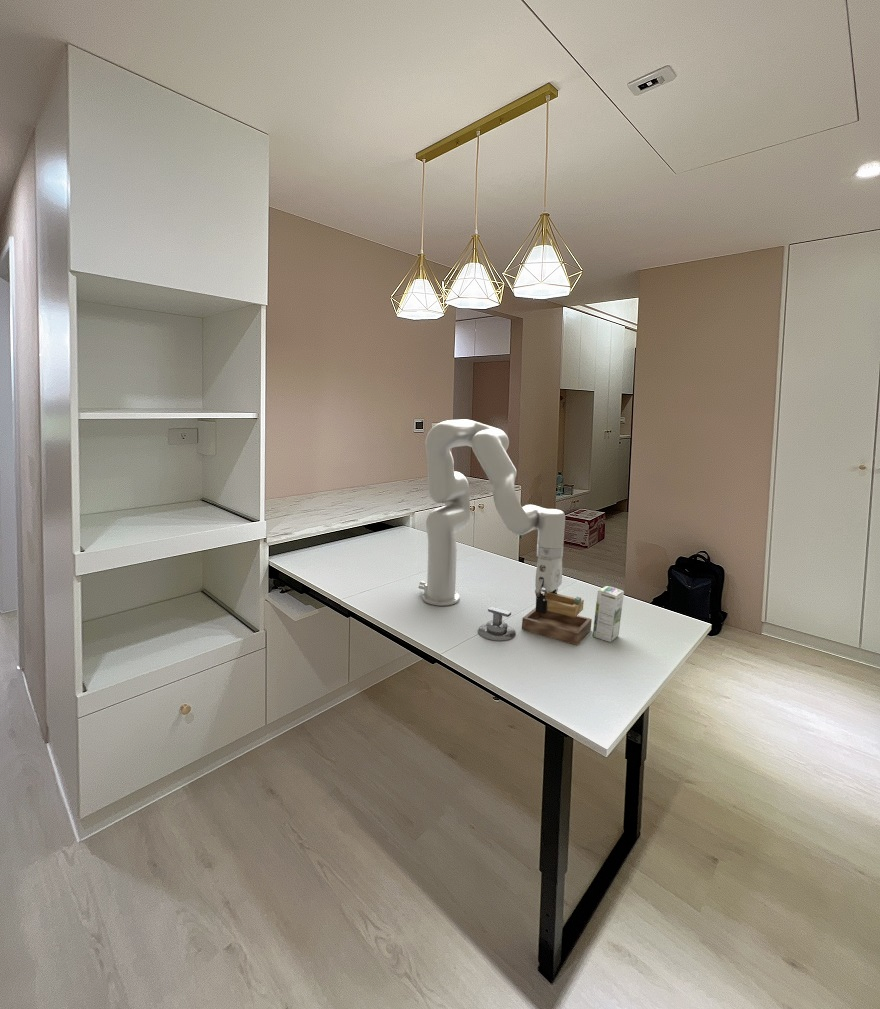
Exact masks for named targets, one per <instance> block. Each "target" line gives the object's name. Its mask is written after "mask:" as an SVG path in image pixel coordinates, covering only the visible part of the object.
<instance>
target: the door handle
mask: <svg viewBox="0 0 880 1009" xmlns="http://www.w3.org/2000/svg"><path fill="white" fill-rule="evenodd" d="M487 612H488V613H492V620H489V621H487V622H486V623H484V624H482V625H480V626H479V627H478V628H477V633H478V635H479V636H480V637H482V638H484V639H485V640H489V641H493V642H506V641H510V640H513V639H514V638H515V637H516V634H517V633H516V629H515V628H514V627H512V626H510V625H508V623H507V622H506V621H503V617H505V618H506V617H507V618H509V617H511V615H512V612H511V611H507V610H504V609H500V608H497V607H493V606H491V607H488V608H487Z"/></svg>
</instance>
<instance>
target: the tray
mask: <svg viewBox="0 0 880 1009" xmlns="http://www.w3.org/2000/svg"><path fill="white" fill-rule="evenodd" d="M592 621H593V620H592V618H589V617H585V616H581V615H579V614H578V615H577V616H576V617H571V616H567V615H563V614H559V613H555V612H551V611H547V612H546V613H545V614H544V613H540V612H537V611H536V607H534V608H533V609H532V610H531V611H530V612H528V613H527V614H526V615H524V616H523V617H522V619H521V630H524V631H527V632H530V633H534V634H537V635H541V636H544V637H547V638H551V639H554V640H557V641H561V642H564V643H567V644H572V645H575V646H578V645H579V644H580V643H581V641H583V639H584V638H585V637H586V636H587V635H588V634H589V633H590V631H591V630H592Z"/></svg>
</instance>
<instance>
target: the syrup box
mask: <svg viewBox="0 0 880 1009" xmlns="http://www.w3.org/2000/svg"><path fill="white" fill-rule="evenodd" d="M596 594H597V595H596V602H595V603H596V604H595V612H594V621H593V628H592V629H593V630H592V637H593V638H596V639H599V640H603V641H606V642H608V643H612V642H613V641H614V640H615V639H617V638H618V637H619V634H620V626H621V620H622V618H621V617H622V611H623V603H624V602H623V601H624V597H625V596H624V595H625V591H624V590H622V589H619V588H616V587H613V586H608V585H605V586H603V587H602V588H601V589H599V590H597V593H596Z"/></svg>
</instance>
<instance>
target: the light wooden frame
mask: <svg viewBox="0 0 880 1009" xmlns="http://www.w3.org/2000/svg"><path fill="white" fill-rule="evenodd" d="M541 593H542V594H543V596H544V593H545V592H541ZM546 600H547V611H551V612H555V613H559V614H563V615H567V616H571V617H576V616H577V615H578V616H579V614H580V613H581V612H582V611H583V610H584V603H585V602H584V601H585V599H582V597H579V596H576V597H573V596H568V595H565V594H564V595H563V594H559V593H557V594H556V593H549V592H548V594H547V598H546Z"/></svg>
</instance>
